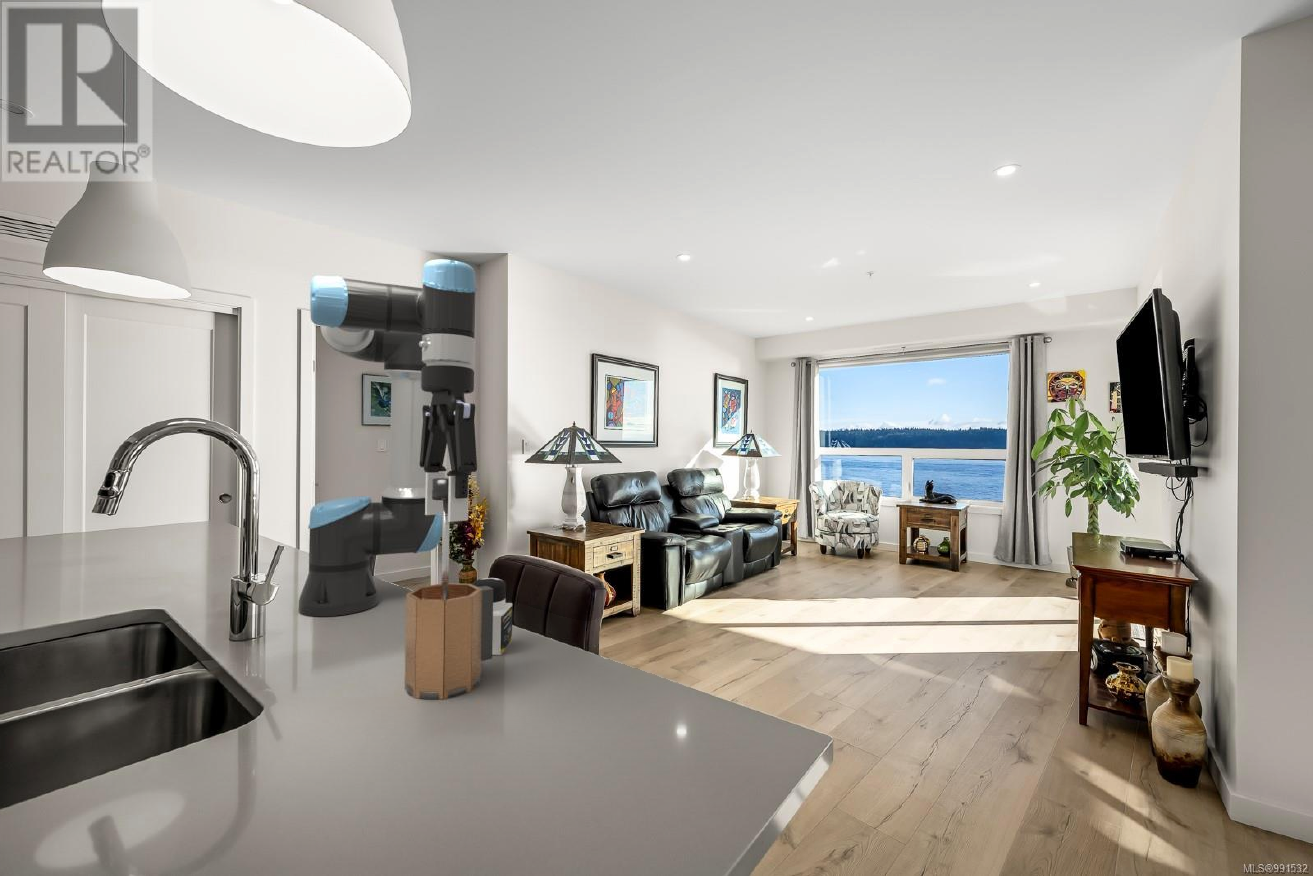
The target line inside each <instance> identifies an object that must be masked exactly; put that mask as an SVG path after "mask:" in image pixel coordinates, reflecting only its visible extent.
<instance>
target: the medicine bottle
mask: <svg viewBox="0 0 1313 876" xmlns="http://www.w3.org/2000/svg"><path fill="white" fill-rule="evenodd" d="M471 584H472V585H474V586H476V587H482V586H488V587H490V588H493V644H492V656H501V655H502V654H503V653H504V652H505V650H506V649H507V648H508V647H509V645H510V644H511V643H512V641H513V607H514V605H513V603H512V602H506V597H507V596H506V594H507V593H506V588H507V587H506V585H507V584H506V581H505V580H502V579H500V578H495V577H487V578H479V579H477V580H475V581H472V583H471Z"/></svg>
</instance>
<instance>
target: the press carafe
mask: <svg viewBox="0 0 1313 876" xmlns="http://www.w3.org/2000/svg"><path fill="white" fill-rule="evenodd" d="M404 641H405V650H404V656H405V659H404V660H405V661H404V690H405V691H406V693H407V694H408V695H409V696H410V697H413V698H414V699H418V700H426V701H427V700H429V701H430V700H431V701H433V700H441V701H442V700H448V699H451V698H452V699H453V698H456V697H460V696H462V695H464V694H467V693H470V692H472V691H473V690H474V689H475V688H477V686H478V685H479V683H480V681H481V677H482V671H481V670H482V662H484V661H488V660H492V659H493V655H492V644H493V588H490V587H488V586H482V587H476V586H474V585H472V583H455V582H454V583H453V582H451V583H450V582H449V585H448V599H447V600H441V583H438V584H437V583H435V584H431V585H424V586H419V587H416V588H414V589H412V590H411V591H409V592H408V593H406V594H405V640H404Z"/></svg>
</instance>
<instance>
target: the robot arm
mask: <svg viewBox="0 0 1313 876" xmlns="http://www.w3.org/2000/svg"><path fill="white" fill-rule="evenodd" d="M422 273H423V274H422V279H421V283H422V287H418V286H417V287H415V286H408V285H401V284H400V285H399V284H392V283H391V284H390V283H382V282H376V281H375V282H373V281H368V280H367V281H366V280H359V279H352V278H344V277H340V276H338V275H334V276H327V275H326V276H325V275H315V276H314V277H312V279H310V289H309V290H310V292H309V293H310V295H309V296H310V297H309V299H310V301H309V302H310V303H309V308H310V309H309V310H310V311H309V312H310V313H309V314H310V320H311V322H312V323H313V324H314V325H317V326H320V332H321V336H322V337H323V340H324V341H325V342H326V344H327V345H328V346H329V347H330V348H332V349H333V350H334V351H335V352H338V353H340V354H342V355H343V356H347V357H348V358H353V359H355V360H360V361H364V362H371V363H382V364H384V365H383V372H384V373H385V374H386V376H387V377H389V378H390V382H391V384H390V385H391V389H390V391H391V392H390V431H389V432H390V441H389V442H390V443H389V444H390V445H389V447H390V448H389V485H388V487H387V488H386V489H385V490H384V491H383V492H382V493H381V501H378V502H372V498H371V497H370V496H368V495H361V496H356V495H355V496H348V497H341V498H340V497H339V498H336V499H335V498H334V499H331V500H326V501H322V502H319V503H316V504H314V506H312V508H311V510H310V512H309V513H310V514H309V523H308V524H309V525H308V530H309V544H308V547H309V548H308V549H309V552H308V575H307V578H306V581H305V583H304V585H303V588H302V590H301V593H300V596H299V599H298V613H300V614H302V615H303V616H310V617H335V616H342V615H343V616H344V615H350V614H356V613H359V612H364V611H367V610H369V609H372V608H374V607H375V606H377V605H378V603H379V592H378V588H377V585H376V582H375V580H374V576H373V574H372V571H371V566H370V563H371V562H370V561H371V557H372V556H382V555H383V556H384V555H396V554H397V555H398V554H399V555H400V554H410V553H411V554H412V553H413V554H418V553H422V552H430V551H433V550H435V548H437V546H438V545H439V543H440V541H441V539H442V517H443V500H432V479H435V478H446V475H447V477H448V478H449V490H448V521H449V523H450V522H451V523H452V522H463V521H465V522H466V521H469V494H470V493H469V491H470V490H469V488H470V486H469V484H470V478H469V477H470V476H471V475H472V473H476V472H477V470H478V459H477V458H478V457H477V446H476V445H477V443H476V441H477V440H476V431H475V430H476V429H475V428H476V427H475V415H476V404H475V403H468V402H467V403H466V400H465V399H466V398H465V395H468V394H472V393H473V392H474V390H475V370H474V369H473V368H471V367H472V366H474V365H475V364H476V339H475V329H476V327H475V326H476V324H475V323H476V292H477V289H478V288H477V285H476V272H475V270H474V268H473V267H472V265H469V264H468V263H466V262H462V261H458V260H453V259H452V260H451V259H443V258H442V259H432V260H429V261H427V262H426V263H424V265H423V272H422ZM446 450H447V451H448V458H449V464H450V469H451V470H450V471H447V468H446V467H445V465H444V461H445V455H446V452H447V451H446ZM446 472H447V473H446Z"/></svg>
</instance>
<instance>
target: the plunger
mask: <svg viewBox="0 0 1313 876" xmlns="http://www.w3.org/2000/svg"><path fill="white" fill-rule="evenodd" d="M448 490H449V477H445V478H435V479H432V500H443V517H442V534H441V539H442V540H441V583H440V584H441V600H447V599H448V585H449V583H450V581H449V579H450V577H449V576H450V575H449V574H450V572H449V571H450V569H449V568H450V567H449V565H450V522H449V521H448Z"/></svg>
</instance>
